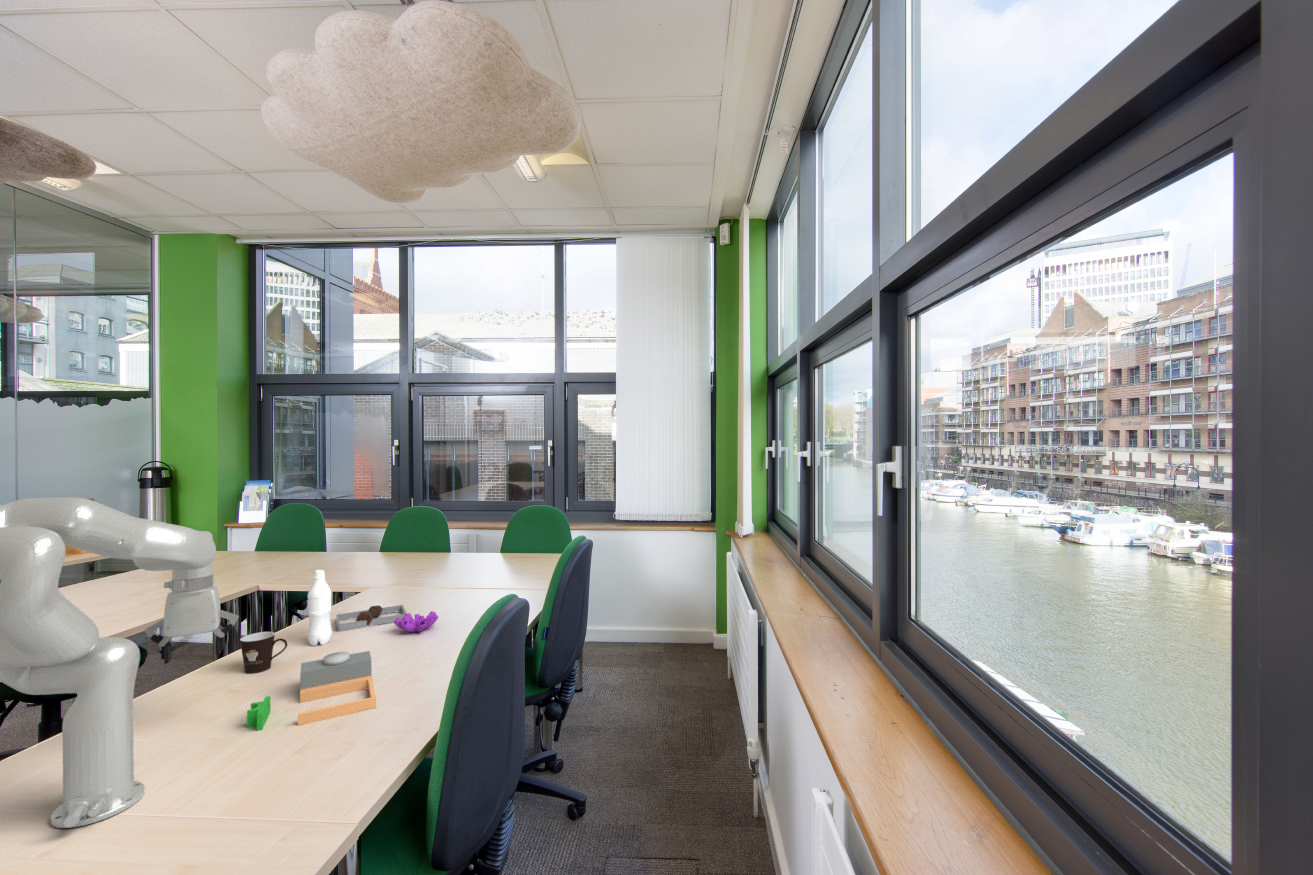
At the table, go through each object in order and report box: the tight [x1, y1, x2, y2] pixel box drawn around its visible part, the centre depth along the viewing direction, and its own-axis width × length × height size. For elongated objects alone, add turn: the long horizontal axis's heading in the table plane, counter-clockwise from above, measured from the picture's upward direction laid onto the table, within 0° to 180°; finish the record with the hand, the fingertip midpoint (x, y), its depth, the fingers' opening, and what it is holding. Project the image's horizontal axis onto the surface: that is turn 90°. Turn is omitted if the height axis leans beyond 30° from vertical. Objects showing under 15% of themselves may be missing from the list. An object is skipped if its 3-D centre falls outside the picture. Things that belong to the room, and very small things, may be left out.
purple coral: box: [393, 610, 439, 633], centre depth 204 cm, size 11×15×10 cm
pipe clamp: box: [246, 695, 271, 732], centre depth 138 cm, size 10×4×4 cm, turn 25°
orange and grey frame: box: [297, 650, 377, 726], centre depth 151 cm, size 24×17×8 cm
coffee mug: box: [239, 631, 288, 675], centre depth 171 cm, size 12×9×10 cm
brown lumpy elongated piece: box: [355, 605, 383, 625], centre depth 217 cm, size 6×5×15 cm
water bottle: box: [307, 569, 333, 647], centre depth 193 cm, size 7×7×25 cm
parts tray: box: [335, 604, 408, 632], centre depth 217 cm, size 15×24×2 cm, turn 120°
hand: (193, 657), depth 132 cm, fingers open, 9 cm apart
